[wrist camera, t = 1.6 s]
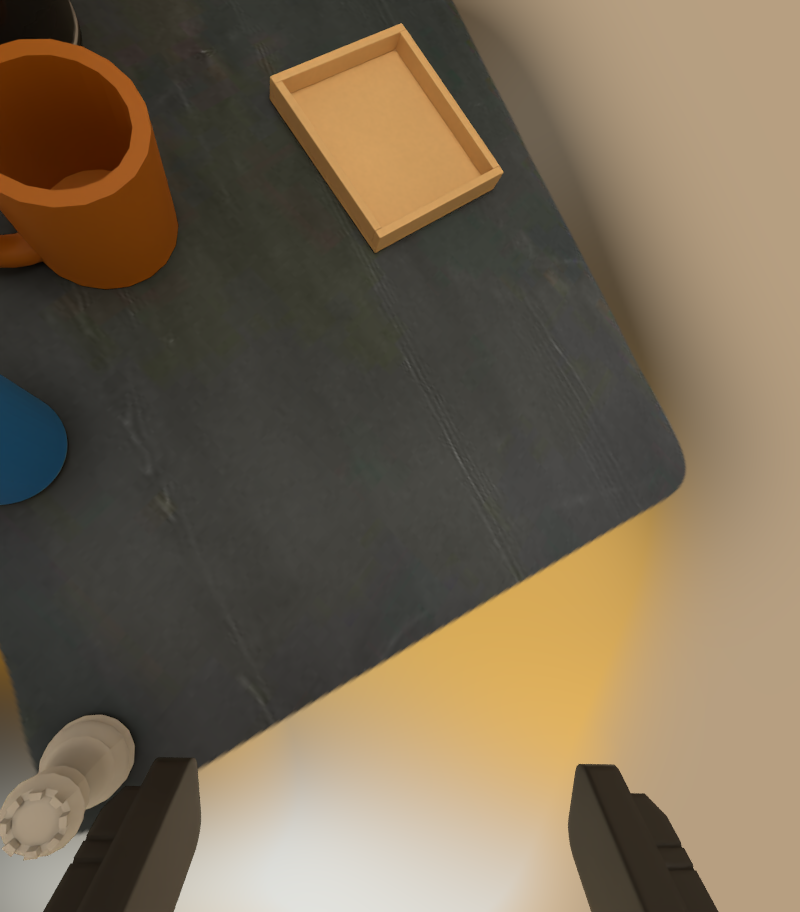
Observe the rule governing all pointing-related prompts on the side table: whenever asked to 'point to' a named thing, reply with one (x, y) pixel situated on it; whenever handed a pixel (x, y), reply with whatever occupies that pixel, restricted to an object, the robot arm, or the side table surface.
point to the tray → (385, 135)
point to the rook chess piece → (66, 785)
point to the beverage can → (27, 444)
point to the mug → (79, 168)
